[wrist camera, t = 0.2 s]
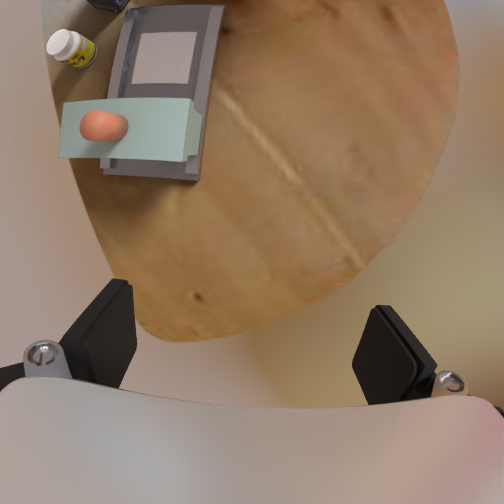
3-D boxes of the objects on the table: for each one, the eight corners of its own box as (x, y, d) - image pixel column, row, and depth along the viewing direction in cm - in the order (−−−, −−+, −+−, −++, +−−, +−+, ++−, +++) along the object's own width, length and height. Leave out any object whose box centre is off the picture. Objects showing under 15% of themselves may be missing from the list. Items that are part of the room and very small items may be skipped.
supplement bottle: (72, 72, 32) (42, 62, 24) (73, 47, 30) (45, 34, 23) (97, 63, 32) (70, 50, 24) (99, 38, 30) (72, 21, 23)
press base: (134, 12, 29) (128, 5, 27) (225, 9, 30) (224, 1, 28) (107, 173, 38) (99, 175, 35) (199, 179, 39) (196, 181, 36)
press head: (104, 110, 32) (36, 98, 18) (204, 112, 33) (178, 87, 19) (99, 153, 34) (30, 162, 20) (198, 158, 35) (168, 164, 21)
